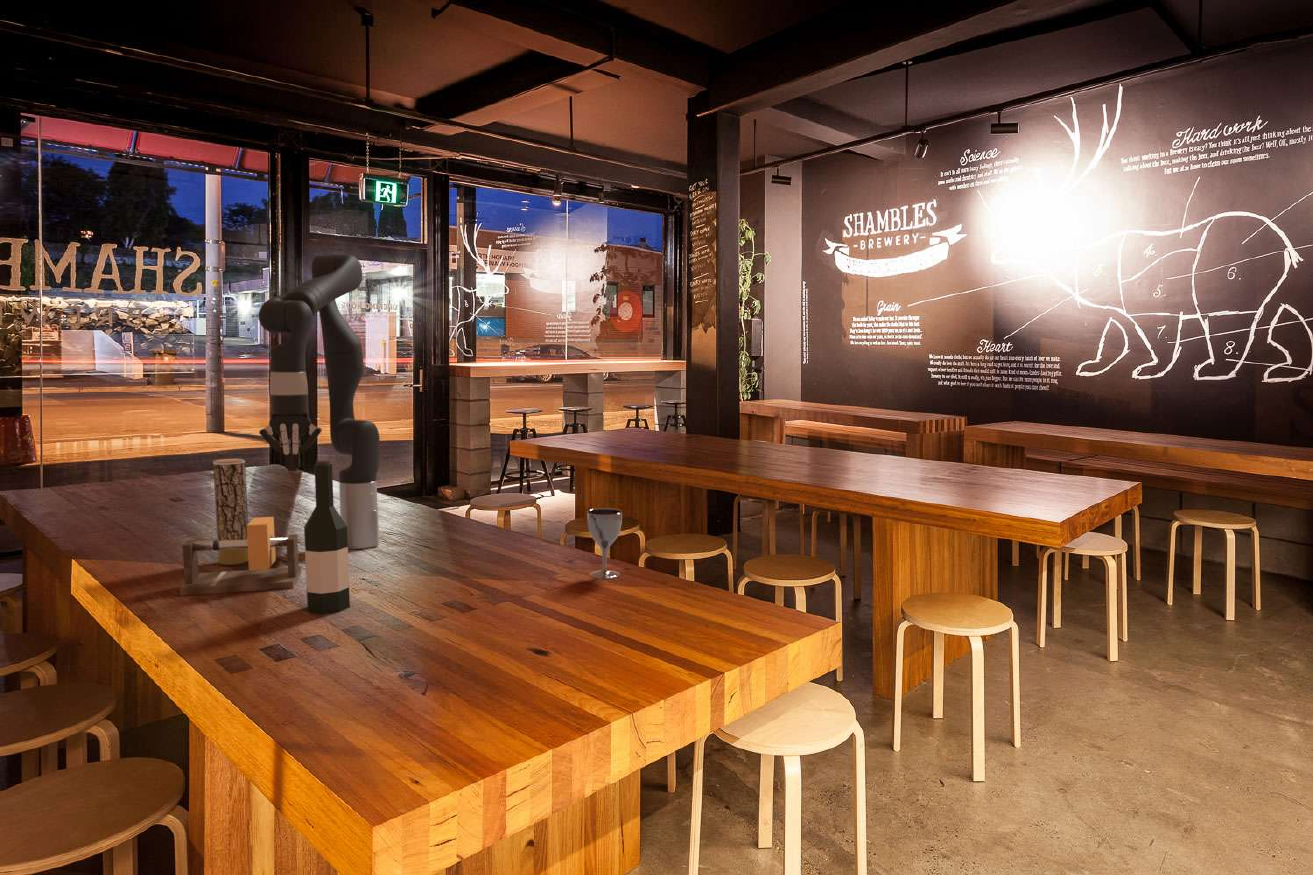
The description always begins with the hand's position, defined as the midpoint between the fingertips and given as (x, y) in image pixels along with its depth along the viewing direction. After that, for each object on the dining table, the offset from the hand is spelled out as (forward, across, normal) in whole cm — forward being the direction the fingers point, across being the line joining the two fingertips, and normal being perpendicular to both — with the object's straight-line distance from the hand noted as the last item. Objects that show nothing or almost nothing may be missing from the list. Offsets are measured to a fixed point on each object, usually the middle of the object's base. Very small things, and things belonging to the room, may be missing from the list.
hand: (292, 470), depth 182 cm
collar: (+21, +7, 0) cm, 22 cm away
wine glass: (+25, -68, +12) cm, 74 cm away
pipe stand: (+25, +11, 0) cm, 27 cm away
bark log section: (+25, +17, -20) cm, 36 cm away
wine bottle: (+25, -9, +22) cm, 35 cm away
